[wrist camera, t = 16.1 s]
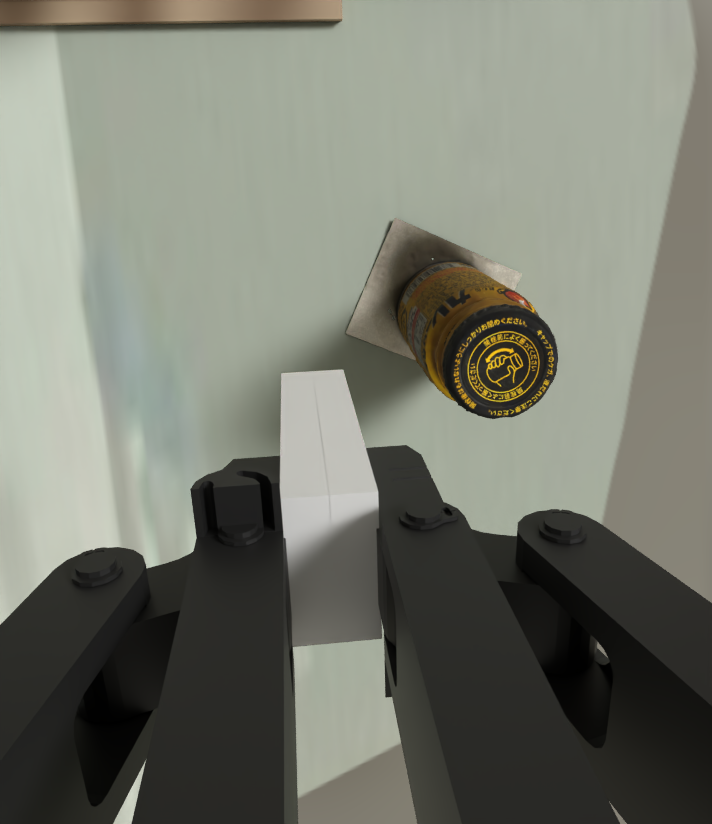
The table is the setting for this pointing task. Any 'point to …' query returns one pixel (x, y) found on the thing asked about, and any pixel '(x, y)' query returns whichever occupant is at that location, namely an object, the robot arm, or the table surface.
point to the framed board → (164, 11)
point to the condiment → (457, 322)
